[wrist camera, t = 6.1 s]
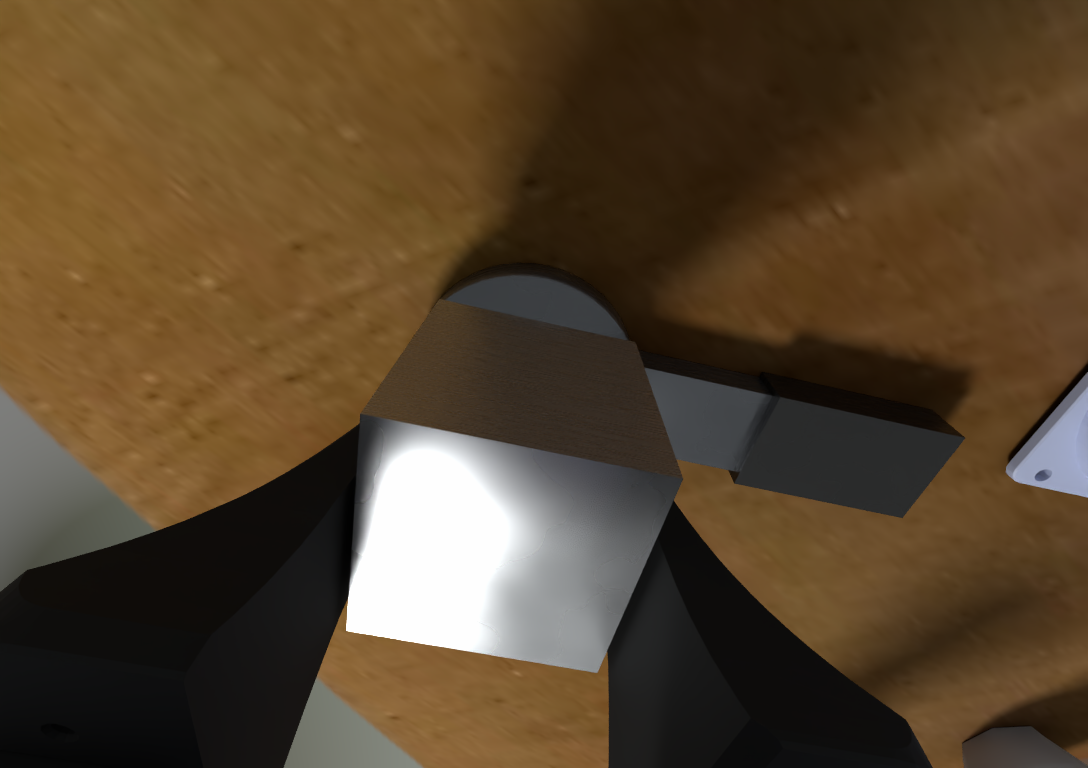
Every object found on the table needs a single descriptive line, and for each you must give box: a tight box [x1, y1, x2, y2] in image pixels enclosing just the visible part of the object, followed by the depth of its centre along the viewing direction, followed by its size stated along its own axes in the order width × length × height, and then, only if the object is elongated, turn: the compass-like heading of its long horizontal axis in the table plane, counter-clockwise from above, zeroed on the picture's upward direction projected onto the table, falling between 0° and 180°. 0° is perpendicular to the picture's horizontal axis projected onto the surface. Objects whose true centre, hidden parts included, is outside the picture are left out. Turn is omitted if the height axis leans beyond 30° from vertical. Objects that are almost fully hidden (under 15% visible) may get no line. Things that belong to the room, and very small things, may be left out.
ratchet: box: [440, 263, 965, 518], centre depth 15 cm, size 17×7×4 cm, turn 77°
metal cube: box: [347, 299, 683, 673], centre depth 11 cm, size 5×5×6 cm
